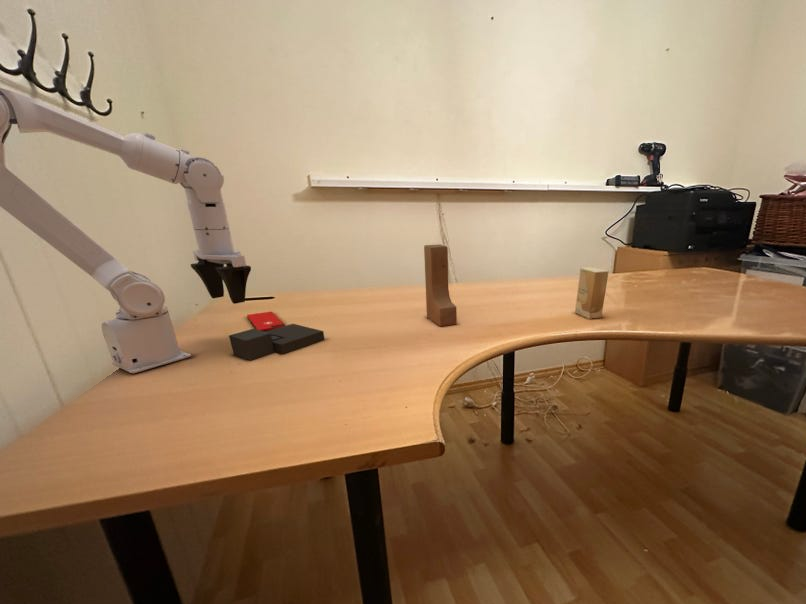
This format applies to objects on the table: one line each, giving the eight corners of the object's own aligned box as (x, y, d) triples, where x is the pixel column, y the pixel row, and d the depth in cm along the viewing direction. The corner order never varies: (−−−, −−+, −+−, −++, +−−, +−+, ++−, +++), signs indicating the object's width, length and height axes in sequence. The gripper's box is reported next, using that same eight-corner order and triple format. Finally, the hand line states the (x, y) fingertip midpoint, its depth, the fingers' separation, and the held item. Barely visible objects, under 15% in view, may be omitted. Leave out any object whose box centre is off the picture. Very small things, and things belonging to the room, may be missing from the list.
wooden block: (457, 324, 98) (456, 248, 91) (440, 326, 96) (438, 249, 89) (442, 315, 105) (440, 244, 98) (426, 317, 103) (423, 245, 96)
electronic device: (247, 316, 101) (258, 332, 90) (246, 314, 101) (257, 329, 90) (272, 313, 104) (286, 327, 93) (271, 311, 104) (285, 325, 93)
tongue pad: (250, 360, 75) (245, 340, 74) (233, 354, 78) (228, 335, 76) (287, 348, 81) (283, 329, 80) (270, 343, 84) (266, 324, 82)
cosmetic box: (574, 313, 108) (579, 267, 104) (587, 311, 110) (592, 266, 106) (589, 319, 103) (595, 271, 98) (602, 317, 105) (609, 270, 100)
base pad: (283, 354, 78) (281, 344, 78) (252, 344, 83) (250, 335, 82) (324, 339, 86) (323, 330, 86) (294, 331, 91) (293, 323, 90)
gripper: (255, 229, 75) (268, 300, 80) (213, 225, 82) (228, 291, 87) (215, 232, 69) (233, 308, 75) (174, 227, 76) (193, 298, 82)
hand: (228, 299), depth 81 cm, fingers open, 7 cm apart
